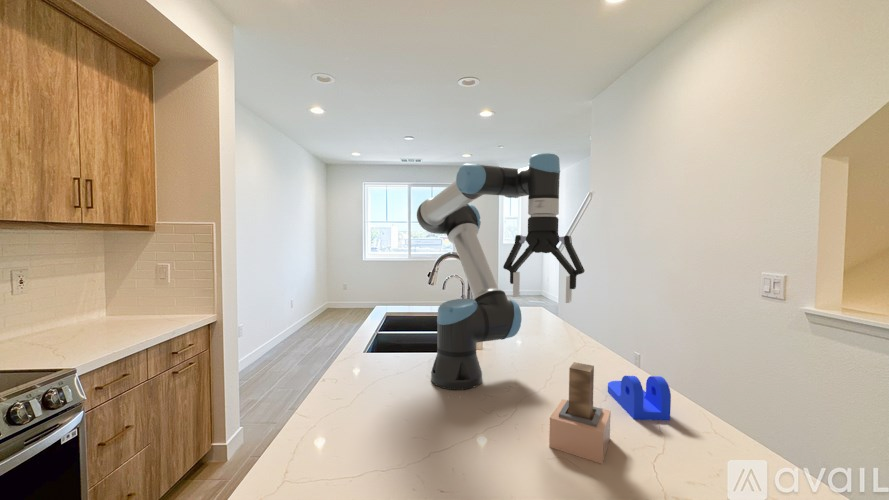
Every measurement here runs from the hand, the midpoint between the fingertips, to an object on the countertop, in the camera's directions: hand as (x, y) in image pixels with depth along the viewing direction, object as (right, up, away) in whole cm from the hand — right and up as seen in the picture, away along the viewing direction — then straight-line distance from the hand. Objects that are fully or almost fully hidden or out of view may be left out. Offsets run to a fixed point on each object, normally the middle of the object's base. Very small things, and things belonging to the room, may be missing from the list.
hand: (541, 299), depth 91 cm
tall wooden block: (+3, -25, -18) cm, 31 cm away
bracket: (+24, -27, +1) cm, 36 cm away
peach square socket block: (+3, -27, -18) cm, 33 cm away
